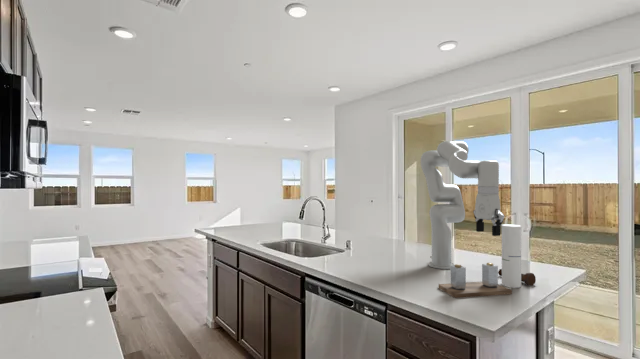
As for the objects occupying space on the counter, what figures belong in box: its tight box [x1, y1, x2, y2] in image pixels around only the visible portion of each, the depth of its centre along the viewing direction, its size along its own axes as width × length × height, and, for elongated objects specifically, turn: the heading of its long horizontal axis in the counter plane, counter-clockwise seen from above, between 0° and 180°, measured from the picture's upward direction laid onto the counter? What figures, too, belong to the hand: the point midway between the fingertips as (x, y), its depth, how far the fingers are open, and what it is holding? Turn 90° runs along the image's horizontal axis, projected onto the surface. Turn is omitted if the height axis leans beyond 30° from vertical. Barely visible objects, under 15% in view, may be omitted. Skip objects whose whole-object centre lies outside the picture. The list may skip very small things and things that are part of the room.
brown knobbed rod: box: [498, 268, 537, 287], centre depth 148 cm, size 6×5×15 cm
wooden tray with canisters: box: [438, 263, 513, 299], centre depth 134 cm, size 12×24×11 cm, turn 100°
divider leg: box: [481, 262, 499, 287], centre depth 135 cm, size 4×4×9 cm
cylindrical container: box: [501, 223, 522, 289], centre depth 142 cm, size 7×7×25 cm
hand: (487, 233), depth 136 cm, fingers open, 9 cm apart
